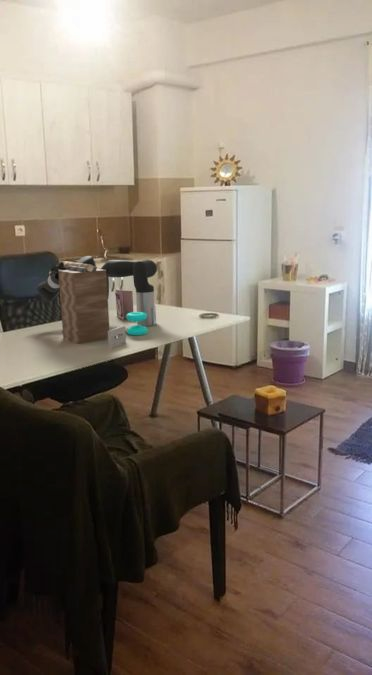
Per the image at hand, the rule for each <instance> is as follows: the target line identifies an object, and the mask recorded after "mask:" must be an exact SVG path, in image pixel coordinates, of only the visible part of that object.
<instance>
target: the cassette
mask: <svg viewBox="0 0 372 675" xmlns="http://www.w3.org/2000/svg"><path fill="white" fill-rule="evenodd" d="M126 339H127V338H126V326H125V325H121V326H118V327H115V328H112V329H110V330H109V331H108V339H107V342H108V343H107V345H108V348H109V349H111V348H115V347H118V346H121V345H123V344H125V343H127V340H126Z"/></svg>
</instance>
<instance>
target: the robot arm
mask: <svg viewBox="0 0 372 675" xmlns="http://www.w3.org/2000/svg"><path fill="white" fill-rule="evenodd" d="M73 262H75V263H83V264H91V265H93V267H96V269H98V267H97V264H96V262H95V259H94V257H93V255H92V256H91V255H85V256H83V257H81V258H79V259H78V260H74V261H73ZM63 266H64V264H63V261H60V262H59V263H58V264H57V265H53V266H52V267H51V268H50V269H49V270H48V273H49V274H48V278H47V279H46V281H42V282H40V283H38V285H37V286H36V292H37V293H38V294H39V296H40V297H41V298H42V299H43V300H44V301H45V302H46V303H51V302H53V300H55V298H57V296H58V295H59V294H60V287H59V274H58V271H61V270H68V268H62V267H63ZM157 266H158V265H157V264H156V263H155V261H153V260H152V259H140V260H125V259H109V260H107V261H106V262H105V263H104V264H102V266H101V268H100V269H103V270H106V277H107V278H127V277H132V276H133V277H132V279H133V285H134V288H135V298H136V301H135V302H136V312H144V313H146V314H147V318H146V319H145V320H143V321H139V322H136V323H137V325H141V326H145V327H151V326H153V327H154V326H156V324H157V312H156V309H157V308H156V305H155V287H154V285H152V284H151V283H149V278H152V277H153V276H155V275H156V273H157V272H158V267H157Z"/></svg>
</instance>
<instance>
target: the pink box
mask: <svg viewBox="0 0 372 675" xmlns="http://www.w3.org/2000/svg"><path fill="white" fill-rule="evenodd" d="M114 294H115V304H116V305H115V306H116V309H115V310H116V318H118V317H119V318H118V319H121V320H123V321H124V320H125V319H124V318H126V315H127V314H128V313H132V312H134V298H133V297H134V296H133V294H134V293H133V290H121V289H119V290H118V289H115V292H114Z"/></svg>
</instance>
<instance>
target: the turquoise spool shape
mask: <svg viewBox="0 0 372 675" xmlns="http://www.w3.org/2000/svg"><path fill="white" fill-rule="evenodd" d="M125 318H126V320H128V321H129V322H133V323H135V322H136V323H137V322H139V321H143V320H145V319H146V318H147V314H146V313H144V312H137V311H133V312H132V313H128V314H127V315H126V317H125ZM148 332H149V330H148V328H147V326H141V325H138V324H137V325H131V326H129V327H128V328H127V330H126V333H127V334H128V335H129V336H143V335H146V334H147V333H148Z"/></svg>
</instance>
